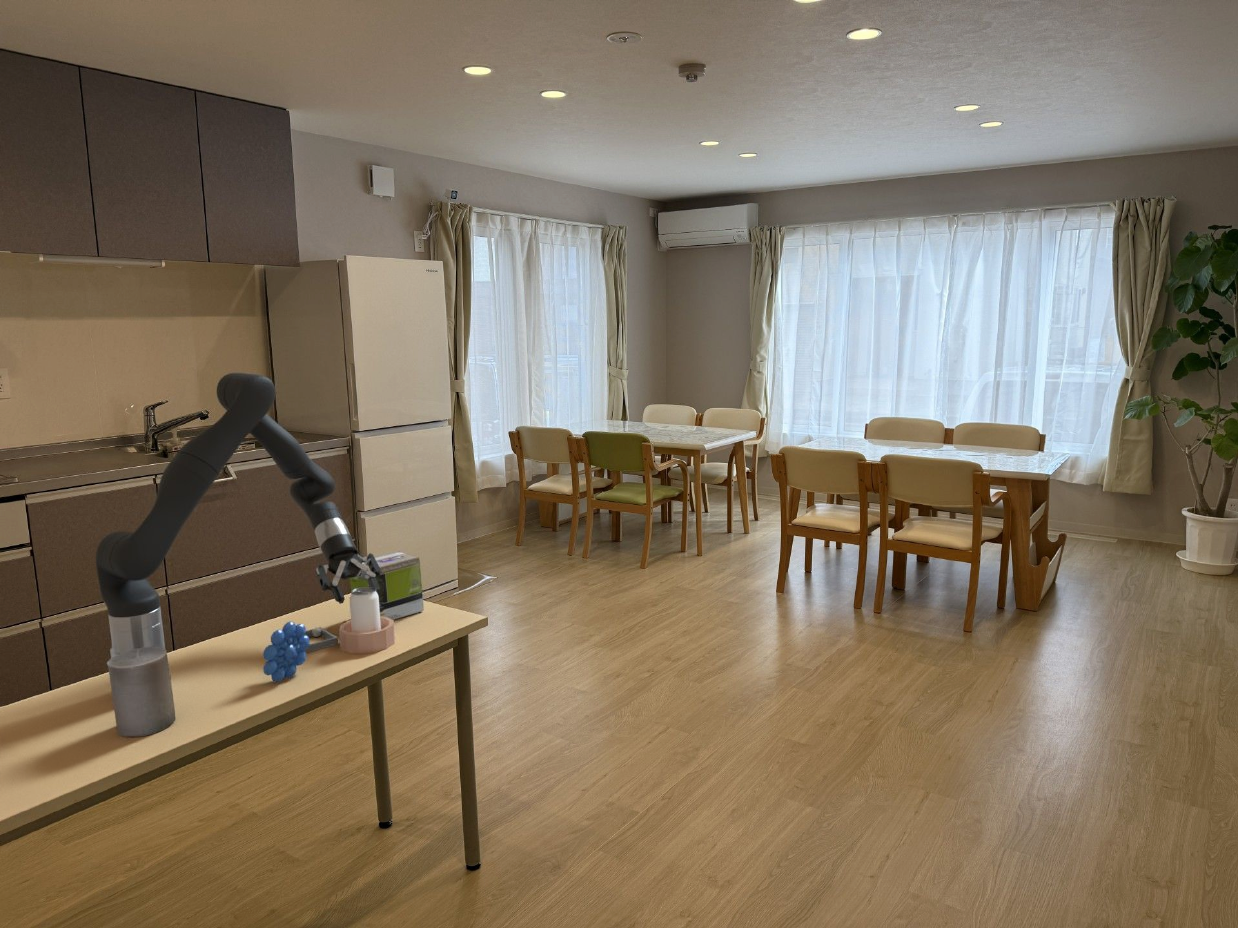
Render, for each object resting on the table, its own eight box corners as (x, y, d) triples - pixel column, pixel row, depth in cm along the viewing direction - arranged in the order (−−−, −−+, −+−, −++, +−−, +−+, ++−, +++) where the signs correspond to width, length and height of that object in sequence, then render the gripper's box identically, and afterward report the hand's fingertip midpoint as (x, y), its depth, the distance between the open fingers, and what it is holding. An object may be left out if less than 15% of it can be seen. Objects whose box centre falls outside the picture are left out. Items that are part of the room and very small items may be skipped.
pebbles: (297, 654, 191) (296, 644, 191) (281, 643, 198) (281, 634, 197) (335, 643, 197) (334, 633, 197) (319, 633, 204) (318, 624, 203)
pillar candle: (167, 708, 164) (158, 635, 162) (182, 725, 157) (172, 649, 155) (111, 726, 158) (100, 650, 155) (124, 743, 151) (112, 664, 148)
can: (364, 647, 192) (360, 596, 190) (346, 641, 196) (343, 591, 194) (387, 638, 197) (383, 589, 195) (369, 633, 201) (366, 584, 199)
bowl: (355, 657, 188) (354, 638, 188) (332, 643, 197) (331, 625, 196) (404, 643, 196) (402, 624, 196) (379, 630, 205) (378, 612, 204)
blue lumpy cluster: (297, 664, 185) (292, 612, 183) (319, 669, 182) (314, 616, 180) (251, 684, 175) (246, 629, 173) (274, 690, 172) (268, 634, 170)
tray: (296, 655, 190) (295, 648, 190) (279, 643, 198) (278, 637, 197) (338, 643, 197) (337, 637, 197) (320, 632, 204) (320, 626, 204)
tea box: (403, 603, 225) (400, 550, 223) (424, 611, 218) (421, 556, 216) (351, 618, 215) (347, 562, 212) (372, 627, 208) (368, 569, 205)
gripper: (310, 537, 196) (334, 596, 190) (367, 527, 206) (392, 582, 199) (302, 555, 201) (326, 613, 195) (359, 544, 211) (383, 599, 204)
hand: (359, 597), depth 197 cm, fingers open, 8 cm apart
